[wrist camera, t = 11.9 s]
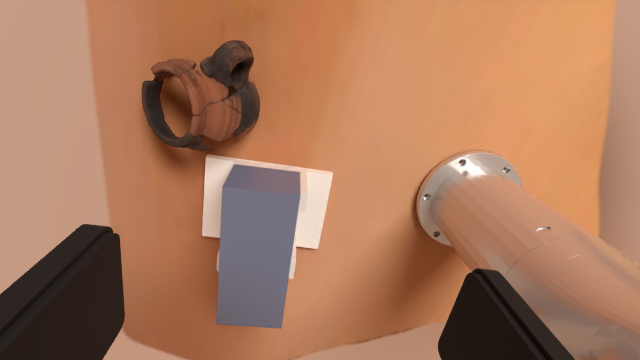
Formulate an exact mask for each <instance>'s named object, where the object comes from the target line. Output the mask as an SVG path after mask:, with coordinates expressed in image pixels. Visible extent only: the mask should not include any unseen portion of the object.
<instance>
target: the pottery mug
mask: <svg viewBox="0 0 640 360" xmlns="http://www.w3.org/2000/svg"><path fill="white" fill-rule="evenodd" d="M253 62H254V57H253V54H252V50H251V48H250V47H249V46H248V45H247V44H246V43H245V42H244V41H236V40H233V41H228V42H226V43H224V44H223V45H221V46H220V47H219V48H218V49H217V50H216V51H215V52H214V54H213V55H212V57H207V58H205V59H204V60H202V61H201V63H200V68H201V70H202V71H198V70H195V69H194V68H195V66H196V63H195V62H193V61H189V60H184V59H170V60H168V61H166V62H159V63H157V64H155V65H154V66H152V68H151V70H152V73H153V74H154V75H155V78H154V80H153V81H144V82H143V84H142V105H143V109H144V112H145V115H146V117H147V121H148V123H149V126H150V127H151V128H152V130H153V132H154V133H155V134H156V136H157V137H158V138H159V139H160V140H161V141H163V142H164V143H166V144H168V145H171V146H173V147H182V148H185V147H187V148H189V149H193V150H199V151H207V150H210V149H211V146H210V145H206V143H205V142H204V140H203V135H204V136H206V137H207V138H211V139H212V140H215V141H218V142H221V141H225V140H227V139H229V137H230V136H231V135H232V134H236V133H237V134H236V135H234V138H235V139H239V138H241V137H243V136H244V135H245V134H246V133H248V132H249V131H250V130H251V129H252V128H253V127H254V125H255V123H256V121H257V119H258V116H259V111H260V99H259V95H258V92H257V89H256V86H255V84H254V83H251V82H249V81H248V75H249V71H250V68H251V67H252V65H253ZM171 75H175V76H176V77H178V78H179V79H180V80H181V82H182V83H183V85H184V86H185V88H186V90H187V93H188V95H189V98H190V102H191V107H192V121H191V125H190V128H189V130H188V133H187V134H186V135H185V136H183V137H181V138H178V137H176V136H175V135H174V134H173V133H172V131H171V129H170V128H169V126H168V125H167V123H166V122H165V120H164V114H163V110H162V107H161V102H160V93H161V88H162V84H163V81H164V79H165V78H167V77H169V76H171ZM230 86H231V87H232V88H233V89H234V90H235V92H234V93H233V94H231V95H230V96H229V89H228V87H230Z"/></svg>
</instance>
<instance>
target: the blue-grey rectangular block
mask: <svg viewBox="0 0 640 360" xmlns="http://www.w3.org/2000/svg"><path fill="white" fill-rule="evenodd" d="M299 202H300V172H296V171H288V170H280V169H271V168H263V167H255V166H246V165H238V164H234V165H233V167H232V169H231V171H230V173H229V175H228V177H227V179H226V180H225V182H224V184H223V186H222V204H221V227H220V249H219V272H218V294H217V317H216V324H221V325H236V326H252V327H267V328H281V326H282V320H283V313H284V306H285V299H286V292H287V285H288V278H289V271H290V264H291V257H292V251H293V244H294V237H295V230H296V223H297V216H298V209H299Z"/></svg>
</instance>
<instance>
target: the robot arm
mask: <svg viewBox="0 0 640 360" xmlns="http://www.w3.org/2000/svg"><path fill="white" fill-rule="evenodd" d="M460 160H461V161H460ZM459 161H460V162H459ZM425 194H426V195H425ZM416 213H417V216H418V220H419V222H420V224H421V226H422V227H423V229H424V230H425V232H426V233H427V234H428V235H429V236H430V237H431V238H432V239H434V240H435V241H437V242H439V243H441V244H444V245H448V246H452V247H453V248H454V249H455V251H456V252H457V253H458V255H459V256H460V257H461V259H462V260H463V261H464V263H465V264H466V265H467V267H468V268H469V270H470V271H471V272H472V273H468V274H467V276H466V278H465V280H464V282H463V285H462V287H461V289H460V292H459V294H458V296H457V299H456V301H455V304H454V306H453V308H452V311H451V313H450V315H449V318H448V320H447V322H446V325H445V328H444V330H443V332H442V334H441V337H440V339H439V342H438V351H439V355H440V357H441V359H442V360H640V264H638V263H637V262H635V261H633V260H632V259H630V258H628V257H627V256H625V255H624V254H622V253H621V252H619V251H618V250H616V249H615V248H613V247H612V246H610V245H609V244H607V243H606V242H604V241H602V240H601V239H599V238H598V237H596V236H595V235H593V234H592V233H590V232H589V231H587V230H586V229H584V228H583V227H581V226H580V225H578V224H577V223H575V222H574V221H572V220H571V219H569V218H568V217H566V216H565V215H563V214H562V213H560V212H559V211H557V210H556V209H554V208H552V207H551V206H549V205H548V204H546V203H545V202H543V201H542V200H540V199H539V198H537V197H536V196H534V195H533V194H531V193H530V192H528V191H527V190H525V189H524V188H522V183H521V179H520V176H519V174H518V172H517V170H516V169H515V167H514V166H513V165H512V164H511V163H510V162H508V161H507V160H506V159H504V158H502V157H501V156H499V155H496V154H494V153H491V152H486V151H468V152H463V153H459V154H457V155H454V156H452V157H450V158H448V159H446V160H445V161H443V162H441V163H440V164H439V165H438V166H437V167H435V168H434V169H433V170H432V171H431V172H430V173H429V175H428V176H427V177H426V178H425V180H424V182H423V183H422V185H421V187H420V190H419V193H418V195H417V201H416ZM124 317H125V312H124V296H123V281H122V265H121V250H120V238H119V235H118V234H116V233H113V230H112V228H110V227H107V226H98V225H89V224H83V225H81V226H80V227H79V228H77V229H76V230H75V231H74V232H73V233H72V234H70V235H69V236H68V237H67V238H66V239H65V240H63V241H62V242H61V243H60V244H59V245H58V246H56V247H55V248H54V249H53V250H52V251H51V252H49V253H48V254H47V255H46V256H45V257H44V258H43V259H41V260H40V261H39V262H38V263H36V264H35V265H34V266H33V267H32V268H31V269H30V270H29V271H27V272H26V273H25V274H24V275H22V276H21V277H20V278H19V279H18V280H17V281H15V282H14V283H13V284H12V285H11V286H10V287H9V288H7V289H6V290H5V291H4V292H3V293H1V294H0V360H102V359H103V358H104V356H105V354H106V353H107V351H108V349H109V348H110V346H111V345H112V343H113V341H114V340H115V338H116V337H117V335H118V333H119V332H120V330H121V328H122V325H123V322H124Z"/></svg>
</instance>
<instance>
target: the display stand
mask: <svg viewBox="0 0 640 360" xmlns="http://www.w3.org/2000/svg"><path fill="white" fill-rule="evenodd" d="M234 164H238V165H246V166H255V167H263V168H271V169H280V170H288V171H296V172H300V202H299V209H298V216H297V223H296V230H295V237H294V244H293V251H292V257H291V264H290V271H289V278H292V279H293V276H294V271H295V265H296V247H305V248H314V249H318V246H319V241H320V236H321V231H322V226H323V221H324V216H325V211H326V207H327V202H328V197H329V192H330V187H331V182H332V177H333V174H332V172H329V171H322V170H315V169H308V168H301V167H294V166H287V165H280V164H273V163H266V162H259V161H252V160H245V159H238V158H231V157H224V156H217V155H210V154H208V155H207V156H206V162H205V183H204V205H203V227H202V236H208V237H217V238H220V227H221V204H222V186H223V184H224V182H225V180H226V179H227V177H228V175H229V173H230V171H231V169H232V167H233V165H234ZM216 271H219V252H218V255H217V268H216Z"/></svg>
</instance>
